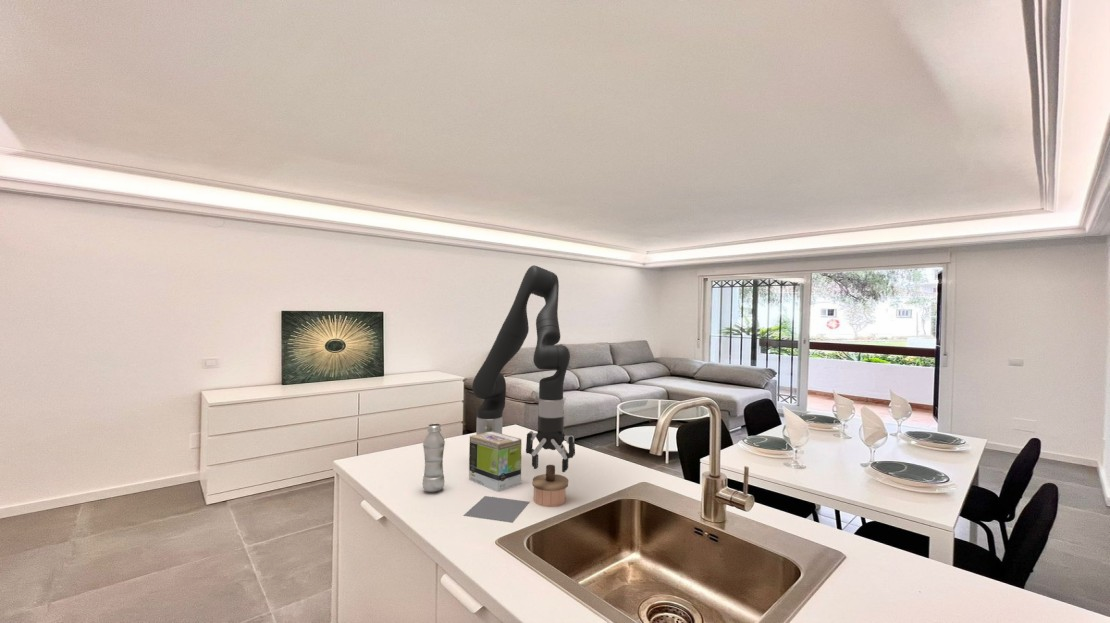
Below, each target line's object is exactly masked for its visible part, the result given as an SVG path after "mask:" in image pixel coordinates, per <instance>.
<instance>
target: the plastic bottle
mask: <svg viewBox="0 0 1110 623" xmlns="http://www.w3.org/2000/svg"><path fill="white" fill-rule="evenodd" d="M427 426H428V427H427V432H428V433H427V435H426V436H425V438H424V439H423V442H422V447H423V454H424V470H423V471H424V472H423V476H422V484H421V485H422V489H423V490H424V491H425V492H428V493H436V492H440V491H442V490H443V488H444V486H445V483H446V482H445V474H444V466H443V465H444V463H443V462H444V450H445V445H446V441H445V438H444V436H443V434H442V433H441V430H442V428H441V427H442V426H441V424H440V423H430V424H428V425H427Z"/></svg>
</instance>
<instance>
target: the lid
mask: <svg viewBox="0 0 1110 623" xmlns="http://www.w3.org/2000/svg"><path fill="white" fill-rule="evenodd" d="M568 486H569V479H568V477H566V476H565V475H561V474H556V465H554V464H548V465H547V464H546V466H545V473H544V474H539V475H535V476H534V477H533V478H532V487H533V488H534V487H535V488H537V489H540V490H545V491H557V490H562V489H565V488H566V489H567V487H568Z"/></svg>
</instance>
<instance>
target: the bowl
mask: <svg viewBox="0 0 1110 623" xmlns="http://www.w3.org/2000/svg"><path fill="white" fill-rule="evenodd" d="M566 489H567V487H566V488H565V489H562V490H557V491H545V490H540V489H537V488H535V487H534V486H533V501H534V503H535V505H536V504H537V505H538V506H542V507H558V506H561V505H563V504H564V503H565V502H566V497H567V495H566V492H567V490H566Z"/></svg>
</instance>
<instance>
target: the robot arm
mask: <svg viewBox="0 0 1110 623" xmlns="http://www.w3.org/2000/svg"><path fill="white" fill-rule="evenodd" d="M559 282H560V281H559V277H558V275H557V274H556V273H555V272H552V271H550V270H548V269H546V268H543V267H540V266H537V265H531V266H529V268H528V269H527V270H526V271H525V273H524V276H523V278H522V281H521V283H520V286H519V287H518V291H517V293H516V296H515V299H514V301H513V303H512V306H511V307H510V310H509V312H508V314H507V315H506V318H505V319H504V322H503V323H502V325H501V328H500V330H499V331H498V334H497V335H496V338H495V341H494V343H493V344H492V346H491V349H490V350H489V352H488V355H487V357H486V358H485V360H484V362H483V363H482V365H481V366H480V368H479V370H478V371H477V373H476V375H475V377H474V379H473V382H472V392H473V393H472V394H473V395H474V396H475V397H476V398H477V399H480V400H483V402H482V403H481V405H480V406H479V407H478V408H477V409H476V434H475V435H477V434H482V433H487V432H492V431H493V432H496V433H500V434H503V415H504V414H503V412H504V410H505V408H506V407H505V406H506V393H507V384H506V383H507V382H506V379H505V376H504V374H502V370H503V369H504V367H505V366H506V365H507V364H508V363H509V362H510V360H512V359H513V358H514V357H515V356H516V355H517V354H518V352H519V351H520V350H521V348H522V346H523V345H524V342H525V341H526V339H527V337H528V334H529V331H530V330H529V328H530V326H529V320H528V310H527V309H528V308H527V307H528V306H527V305H528V302H529V298H530V296H531V295H535V296H537V297H540V298H543V299H544V302H545V304H544V306H543V307H542V308H541V309H540V311H539V312H538V314H537V316H536V319H535V326H536V327H535V331H536V344H535V349H534V352H533V353H534V354H533V364H534V366H535V367H536V368H537V369H538V370H542V371H544V370H547V371H548V370H550V371H551V370H556V371H555V372H554V373H553V375H551V376H547V377H543V378H540V380H539V386H538V392H539V393H538V404H537V432H534V431H532V430H531V431H529V432H527V434H526V444H525V453H526V454H529V455H531V467H533V470H538V468H539V452H540V451H541V450H542V449H544V450H551V451H557V452H558V454H559V455H561V458H562V459H561V460H562V461H561V472H562V473H566V471H567V470H568V469H569V459H572V458H573V457H574V456H575V455H576V445H575V443H576V442H575V440H576V439H575V435H574V434H571V435H565V433H564V428H565V427H564V425H565V424H564V420H565V415H564V414H565V405H564V384H565V383H564V382H565V377H566V373H567V370H568V367H569V364H570V359H571V353H570V350H569V348H568V347H567V346H566V345H563V344H562V345H561V344H560V345H559V344H558V343H559V342H560V341H561V331H560V330H561V329H560V324H559V315H558V310H559V308H558V306H559V290H560V288H559V287H560V286H559V285H560V284H559ZM557 344H558V345H557ZM535 439H536V440H537V441H538V445H537V446H536V447H535V448H533V444H534V440H535ZM564 441H566V444H567V445H568V450H567V449H566V447H565V445H564V444H563V442H564Z"/></svg>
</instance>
